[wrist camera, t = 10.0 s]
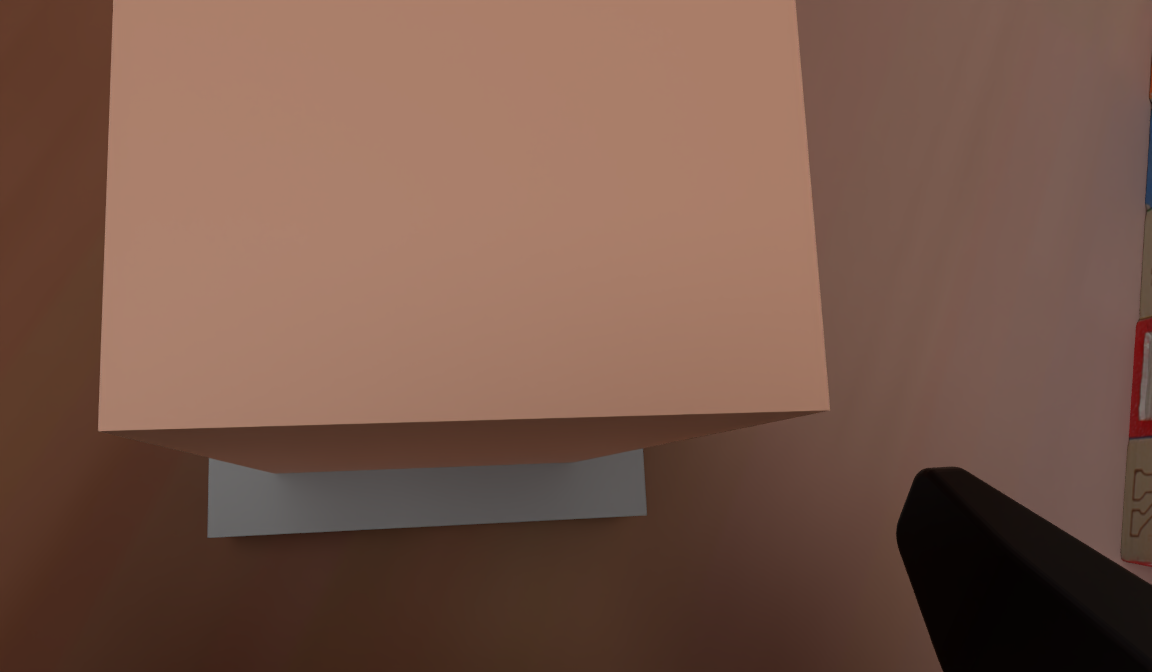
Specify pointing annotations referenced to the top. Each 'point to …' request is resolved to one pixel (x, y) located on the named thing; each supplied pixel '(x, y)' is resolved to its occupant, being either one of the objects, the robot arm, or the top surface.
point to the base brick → (421, 496)
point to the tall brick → (455, 229)
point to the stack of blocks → (1141, 412)
